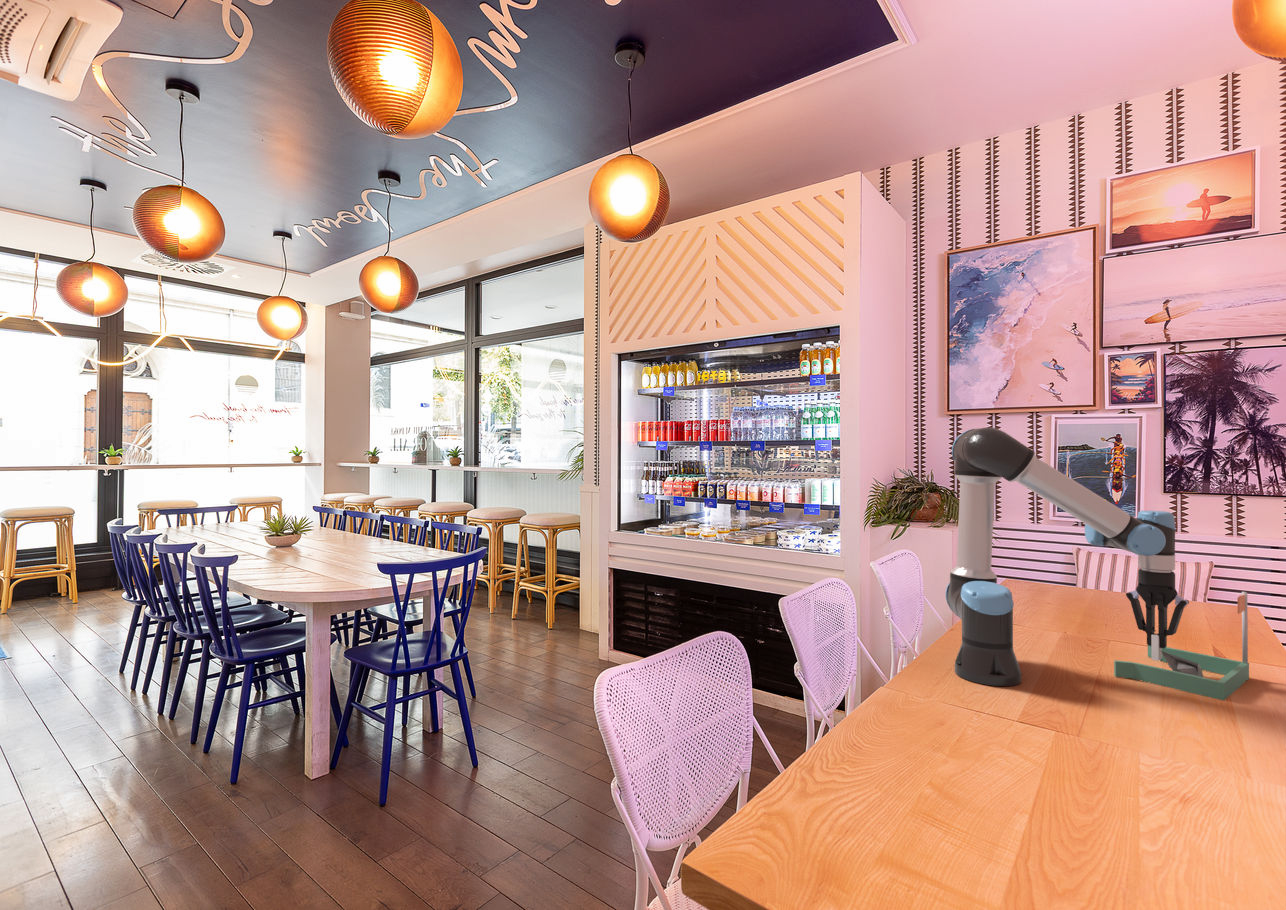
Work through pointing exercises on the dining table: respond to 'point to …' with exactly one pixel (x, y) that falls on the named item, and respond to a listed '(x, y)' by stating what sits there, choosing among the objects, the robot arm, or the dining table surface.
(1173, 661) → the paper boat
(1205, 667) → the green u-shaped frame
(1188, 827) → the dining table surface
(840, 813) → the dining table surface
